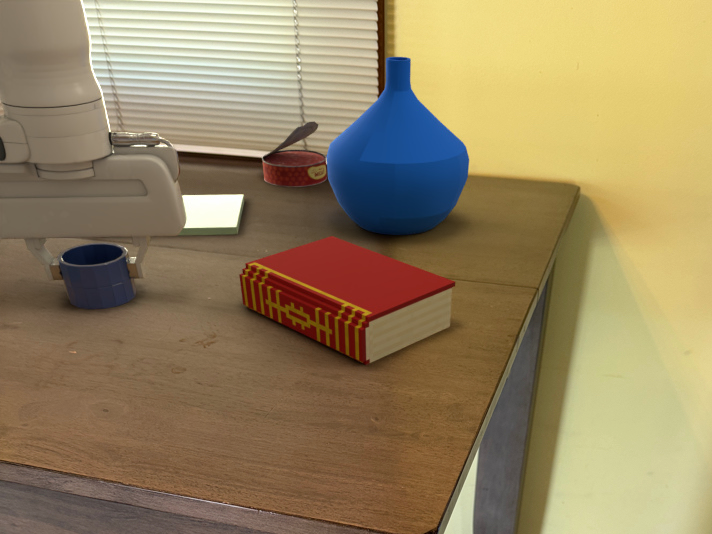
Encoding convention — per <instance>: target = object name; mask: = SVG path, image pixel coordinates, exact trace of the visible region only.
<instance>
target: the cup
mask: <svg viewBox="0 0 712 534" xmlns="http://www.w3.org/2000/svg"><path fill="white" fill-rule="evenodd" d="M129 258H130V255H129V251H128V249H127V248H126V247H125V246H123V245H120V244H118V243H110V242H90V243H84V244H78V245H75V246H73V247H68V248H66V249H64V250H62V251H60V252H59V254H58V255H57V257H56V259H57V260H58V264H59V267H60V271H61V274H62V278H63V280H62V281H63V284H64V288H65V293H66V295H67V299H68V302H69V303H70V305H72V306H74V307H76V308H78V309H84V310H106V309H110V308H116V307H119V306H122V305H125V304H128V303H129V302H131V301H132V300H133V299H135V298H136V296H137V288H136V283H135V279H131V278H130V277H129V273H130V271H129V270H128V268H127V262H128V261H129Z"/></svg>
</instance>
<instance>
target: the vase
mask: <svg viewBox="0 0 712 534" xmlns="http://www.w3.org/2000/svg"><path fill="white" fill-rule="evenodd" d="M411 60H412V59H411V58H410V57H406V56H389V57H386V58H385V84H384V90H383V91H382V92H381V93H380V95H379V97H378V98H377V100H375V102H373V103H372V104H371V105H370V106H369V107H368V108H367V109H366V110H365V111H364V112H363V113H361V115H360V116H359V117H357V119H356V120H355V121H353V122H352V123H351V124H350V125H349V126H348V127H347V128H345V129H344V130H343V131H342V132H341V133H340V134H338V136H336V137H335V138H334V139H333V140H332V141H331V142H329V145H328V149H327V153H326V155H325V156H326V169H327V180H328V182H329V185H330V187H331V189H332V192H333V194H334V196H335V199H336V201H337V203H338V205H339V206H340V208H341V209H342V210H343V211H344V212H345V214H346V215H347V216H348V217H349V219H351V221H352V222H353V223H355V224H356V225H357V226H359V227H360V228H361V229H363V230H365V231H368V232H371V233H375V234H381V235H390V236H408V235H416V234H421V233H425V232H428V231H431V230H433V229H434V228H435V227H437V226H438V225H439V224H440V223H442V222H444V221H445V220H446V218H447V217H448V216H449V215H450V214H451V212H452V211H453V210H454V208H455V207H456V206H457V205H458V201H459V199H460V197H461V195H462V192H463V190H464V188H465V185H466V183H467V180H468V177H469V167H470V156H469V153H468V149H467V146H466V144H465V143H464V142H463V141H462V140H461V139H460V138H459V137H458V136H456V135H455V134H454V132H452V131H451V130H450V129H449V128H448V127H447V126H446V125H445V124H444V123H442V121H441V120H439V119H438V117H437V116H436V115H434V114H433V113H432V112H431V111H430V109H428V108H427V107H426V106H425V104H423V103H422V102H421V101H420V99H419V98H418V97H417V95H416V93H415V92H414V91H413V89H412V84H411V83H412V82H411V65H412V64H411V62H412V61H411Z"/></svg>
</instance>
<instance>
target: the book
mask: <svg viewBox="0 0 712 534" xmlns="http://www.w3.org/2000/svg"><path fill="white" fill-rule="evenodd" d="M244 265H245V267H243V268H242V269H241V271H242V273H240V274H239V275H238V276H239V284H240V291H241V300H242V305H243V306H245V307H246V308H248V309H250V310H252V311H254V312H256V313H258V314H261V315H262V316H265V317H266V318H268V319H271V320H273V321H275V322H277V323H279V324H280V325H283V326H284V327H287V328H289V329H292V330H293V331H295V332H298V333H300V334H301V335H303V336H305V337H307V338H309V339H312V340H314V341H316V342H318V343H320V344H322V345H324V346H326V347H329V348H330V349H332V350H335V351H336V352H339V353H341V354H343V355H345V356H347V357H349V358H351V359H353V360H355V361H357V362H360V363H362V364H364V365H365V366H367V365H369V364H371V363H373V362H376V361H377V360H380V359H382V358H384V357H386V356H389V355H391V354H393V353H396V352H397V351H399V350H402V349H404V348H406V347H408V346H410V345H412V344H415V343H417V342H419V341H421V340H424V339H426V338H428V337H431V336H432V335H435V334H436V333H439V332H441V331H443V330H445V329H448V328H450V327H451V315H452V300H453V299H452V296H453V288H454V287H456V281H454V280H452V279H450V278H447V277H444V276H442V275H439V274H436V273H433V272H431V271H428V270H425V269H422V268H420V267H417V266H414V265H411V264H409V263H406V262H403V261H401V260H398V259H395V258H392V257H389V256H387V255H384V254H382V253H379V252H376V251H373V250H371V249H368V248H366V247H363V246H360V245H358V244H354V243H352V242H349V241H346V240H344V239H341V238H338V237H335V236H334V235H333V236H332V235H331V236H327V237H324V238H320V239H318V240H315V241H312V242H308V243H305V244H302V245H299V246H295V247H292V248H289V249H287V250H282V251H280V252H277V253H274V254H270V255H268V256H264V257H261V258H258V259H255V260H251V261H248V262H245V263H244Z"/></svg>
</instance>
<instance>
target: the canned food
mask: <svg viewBox="0 0 712 534" xmlns="http://www.w3.org/2000/svg"><path fill="white" fill-rule="evenodd" d="M318 128H319V123H317V122H316V121H308V122H306V123H304V124H303V125H300V126H297V127H296V128H295V129H294V130H292V131H291V132H290V134H289V135H288V136H287V137H286V139H284V141H283V142H281V143H280V144H279V145H278V146H276V148H275V149H272V150H271V151H270V152H268V153H265V154H263V155H262V156H261V161H262V170H263V171H262V172H263V180H264V182H266V183H267V184H270V185H273V186H276V187H277V186H278V187H285V188H302V187H311V186H316V185H319V184H322V183H325V182H326V181H327V180H328V172H327V158H326V156H327V155H325V154H324V153H322V152H319V151H315V150H310V149H286V148H288V147H290V146H292V145H295V144H297V143H298V142H300V141H303V140H305V139H306V138H308V137H309V136H311V135H312V134H314V133H316V131H317V130H318Z"/></svg>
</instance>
